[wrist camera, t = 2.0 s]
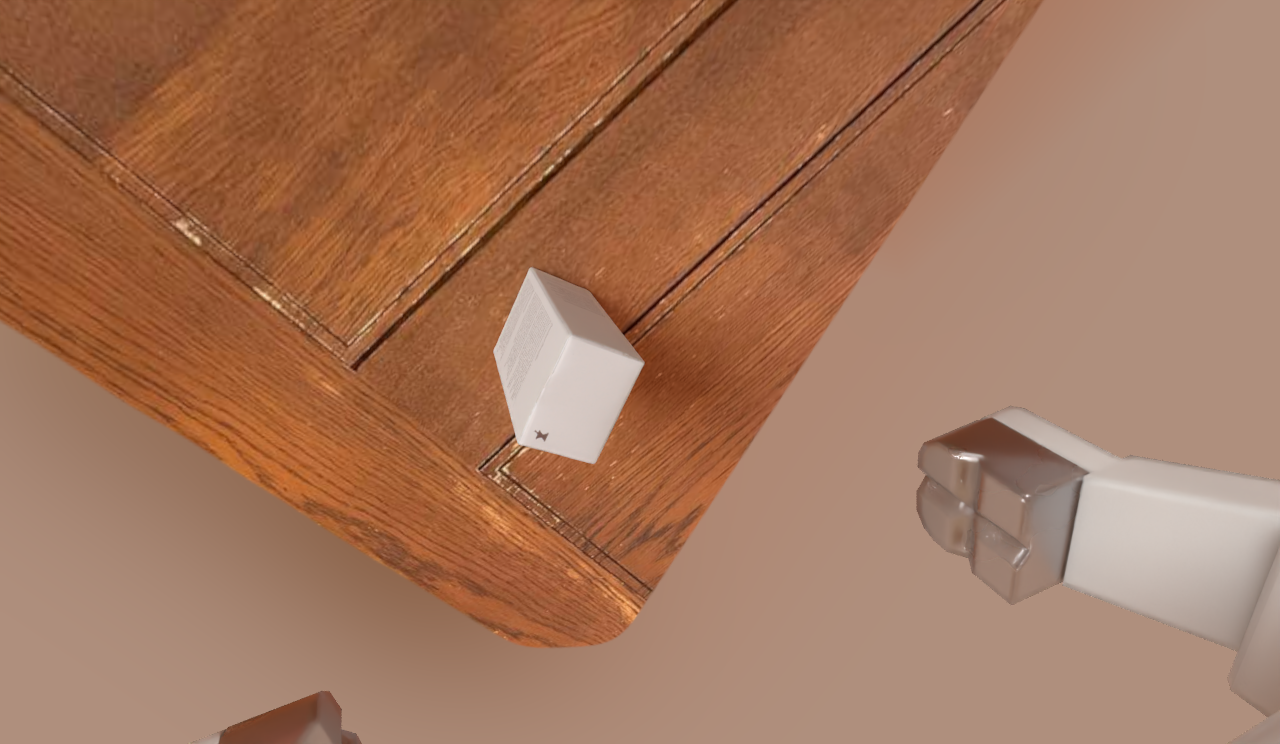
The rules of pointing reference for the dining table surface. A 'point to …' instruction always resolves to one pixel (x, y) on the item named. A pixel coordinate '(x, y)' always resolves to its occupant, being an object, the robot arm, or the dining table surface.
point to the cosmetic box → (563, 368)
